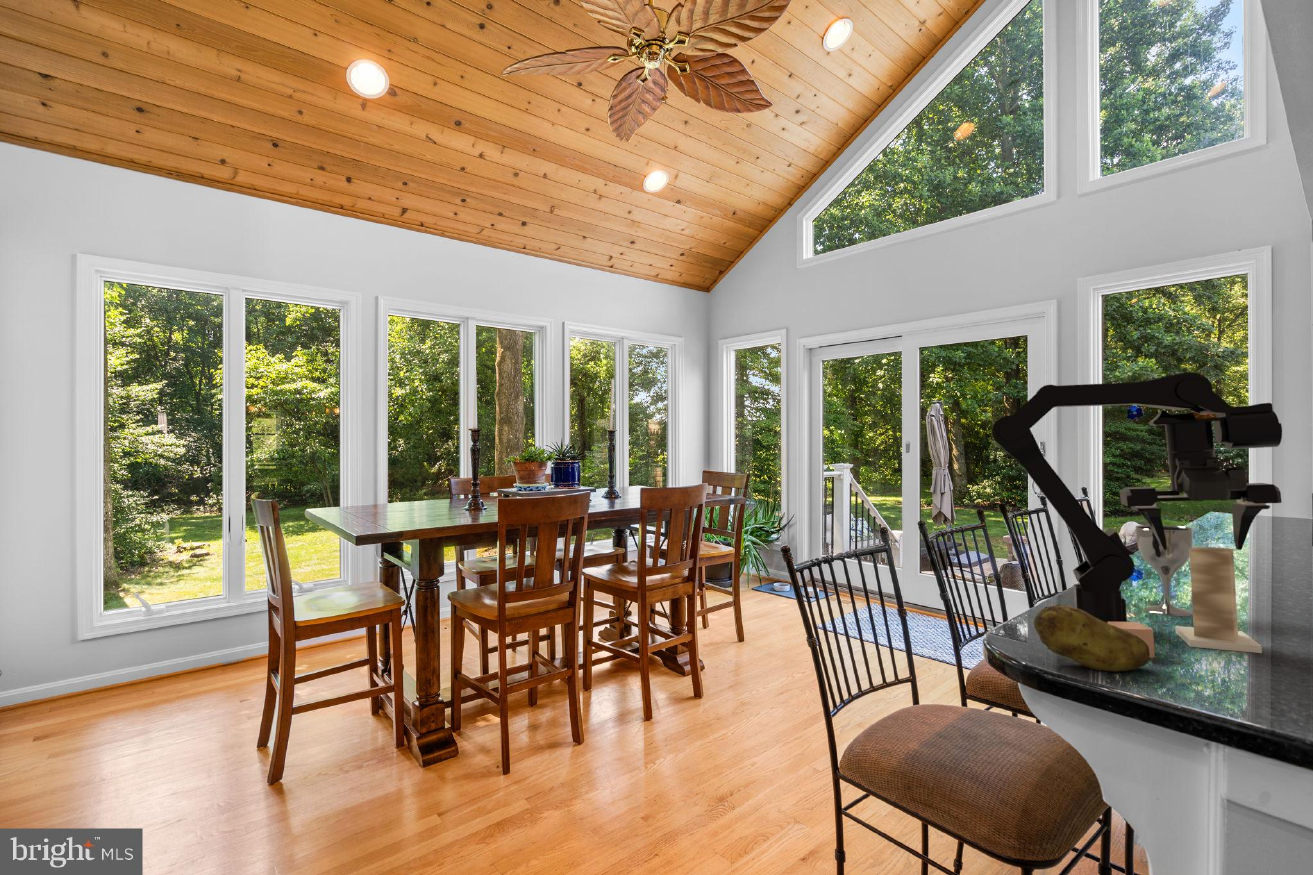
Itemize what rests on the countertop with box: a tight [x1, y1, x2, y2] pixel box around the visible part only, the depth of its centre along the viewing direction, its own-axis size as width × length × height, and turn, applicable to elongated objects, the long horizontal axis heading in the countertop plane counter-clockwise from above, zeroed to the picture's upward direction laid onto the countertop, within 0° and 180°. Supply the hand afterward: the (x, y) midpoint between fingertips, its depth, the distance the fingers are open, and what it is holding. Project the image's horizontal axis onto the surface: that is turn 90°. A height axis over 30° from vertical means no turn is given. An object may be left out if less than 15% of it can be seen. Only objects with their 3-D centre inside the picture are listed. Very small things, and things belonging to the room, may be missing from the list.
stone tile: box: [1175, 625, 1263, 654], centre depth 94 cm, size 8×8×1 cm
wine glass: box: [1135, 524, 1194, 617], centre depth 112 cm, size 8×8×15 cm
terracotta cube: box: [1108, 621, 1155, 658], centre depth 91 cm, size 4×4×4 cm
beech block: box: [1189, 545, 1239, 642], centre depth 94 cm, size 4×4×13 cm
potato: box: [1033, 604, 1150, 672], centre depth 86 cm, size 8×13×8 cm, turn 50°
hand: (1200, 549), depth 99 cm, fingers open, 9 cm apart
